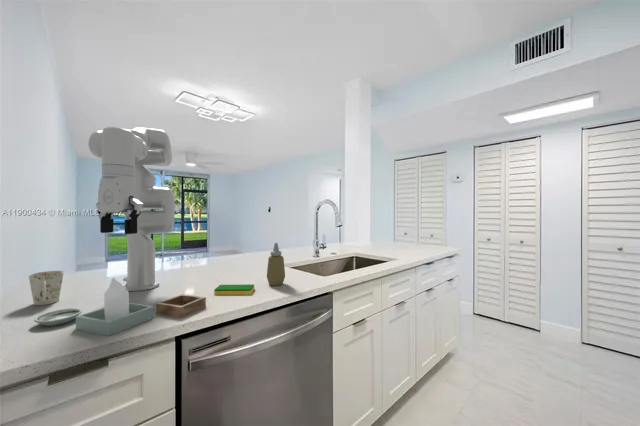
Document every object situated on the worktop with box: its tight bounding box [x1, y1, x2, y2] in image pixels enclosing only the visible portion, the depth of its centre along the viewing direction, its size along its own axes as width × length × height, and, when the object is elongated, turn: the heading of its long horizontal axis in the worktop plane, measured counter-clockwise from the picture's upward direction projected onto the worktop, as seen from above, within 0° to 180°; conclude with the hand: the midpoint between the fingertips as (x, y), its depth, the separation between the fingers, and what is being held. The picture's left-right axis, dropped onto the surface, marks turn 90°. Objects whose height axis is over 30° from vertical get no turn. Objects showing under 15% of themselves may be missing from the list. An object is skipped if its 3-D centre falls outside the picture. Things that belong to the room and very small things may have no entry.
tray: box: [75, 301, 155, 337], centre depth 76 cm, size 13×13×3 cm
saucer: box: [33, 307, 83, 327], centre depth 76 cm, size 10×10×2 cm
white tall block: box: [103, 277, 130, 321], centre depth 76 cm, size 6×12×6 cm
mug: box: [28, 270, 64, 306], centre depth 91 cm, size 8×13×10 cm, turn 45°
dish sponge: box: [213, 284, 255, 296], centre depth 105 cm, size 7×14×2 cm, turn 92°
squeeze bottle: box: [266, 242, 286, 287], centre depth 116 cm, size 8×8×18 cm
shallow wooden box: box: [155, 293, 207, 318], centre depth 86 cm, size 10×10×3 cm
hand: (118, 233), depth 76 cm, fingers open, 9 cm apart
